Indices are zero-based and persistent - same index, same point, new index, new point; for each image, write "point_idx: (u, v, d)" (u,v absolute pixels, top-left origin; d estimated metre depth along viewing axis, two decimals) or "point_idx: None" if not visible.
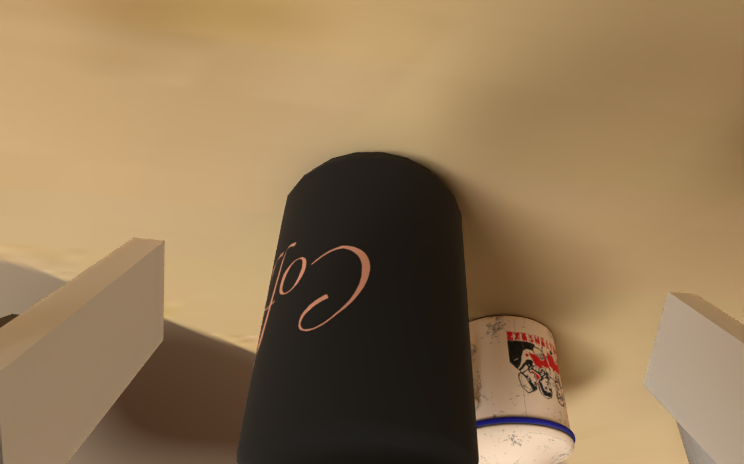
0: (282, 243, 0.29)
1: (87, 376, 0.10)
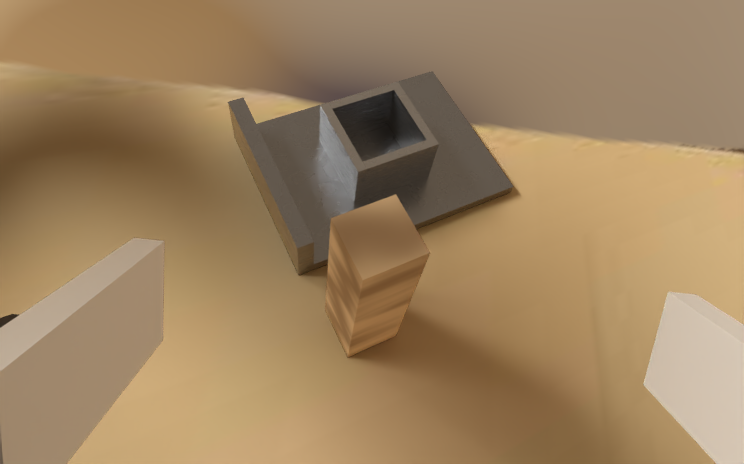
0: None
1: (88, 376, 0.10)
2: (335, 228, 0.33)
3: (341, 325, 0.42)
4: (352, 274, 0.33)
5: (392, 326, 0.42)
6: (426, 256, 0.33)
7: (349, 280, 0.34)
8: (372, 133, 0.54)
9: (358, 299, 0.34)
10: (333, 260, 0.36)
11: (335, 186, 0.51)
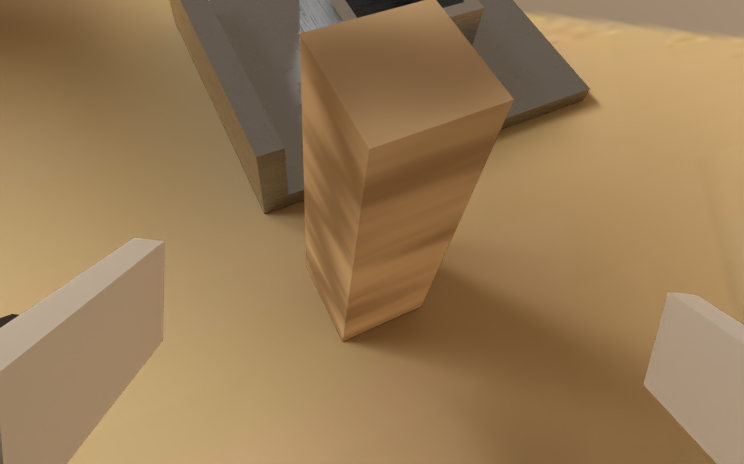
0: None
1: (88, 376, 0.10)
2: (309, 53, 0.15)
3: (331, 284, 0.24)
4: (346, 152, 0.15)
5: (417, 287, 0.25)
6: (504, 110, 0.15)
7: (341, 173, 0.17)
8: None
9: (359, 210, 0.16)
10: (311, 147, 0.19)
11: None
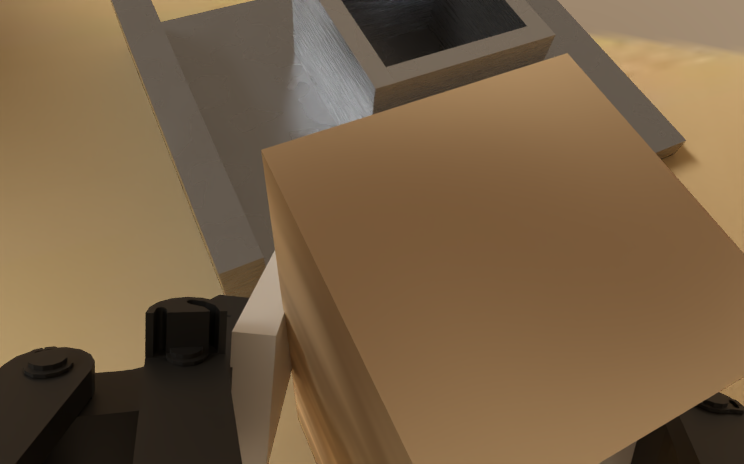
0: None
1: (288, 346, 0.12)
2: (284, 202, 0.06)
3: None
4: (375, 444, 0.06)
5: None
6: None
7: (358, 445, 0.07)
8: (399, 40, 0.28)
9: None
10: (297, 334, 0.10)
11: None
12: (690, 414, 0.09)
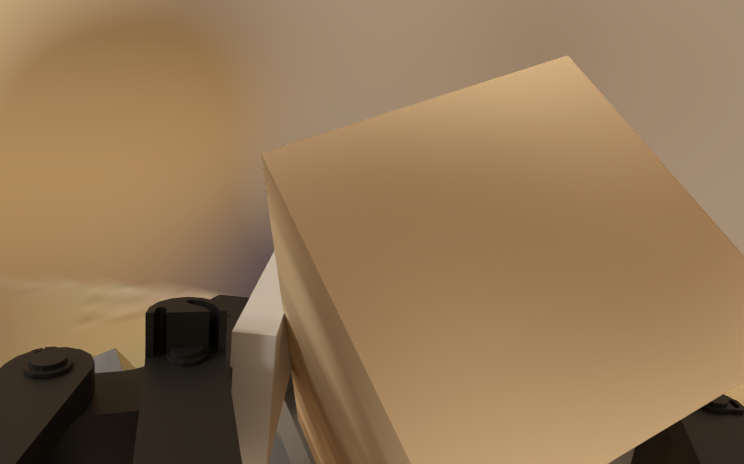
0: None
1: None
2: (284, 206, 0.06)
3: None
4: (375, 448, 0.06)
5: None
6: None
7: (358, 449, 0.07)
8: None
9: None
10: (297, 336, 0.10)
11: None
12: (690, 414, 0.09)
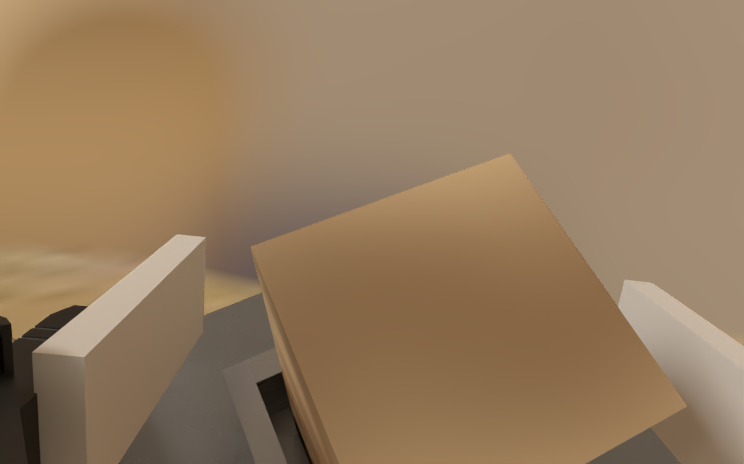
0: None
1: (147, 363, 0.11)
2: (268, 291, 0.08)
3: None
4: None
5: None
6: None
7: None
8: None
9: None
10: (286, 373, 0.11)
11: None
12: None
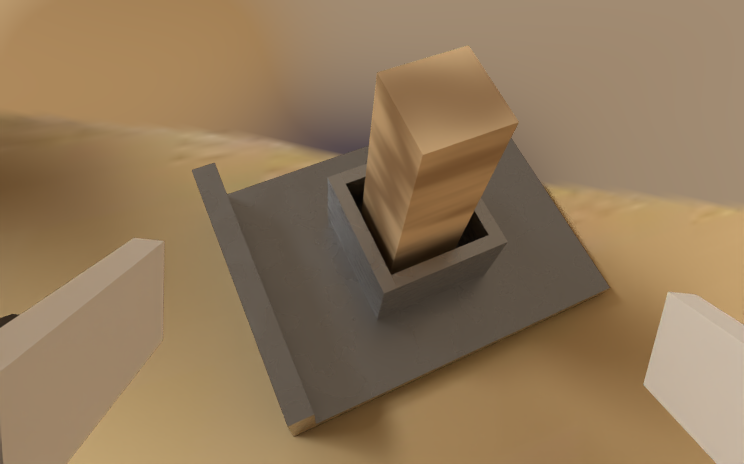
0: None
1: (88, 376, 0.10)
2: (383, 86, 0.23)
3: (381, 242, 0.32)
4: (405, 153, 0.23)
5: (446, 246, 0.33)
6: (512, 128, 0.23)
7: (399, 165, 0.25)
8: None
9: (412, 191, 0.24)
10: (376, 144, 0.27)
11: (350, 290, 0.35)
12: None
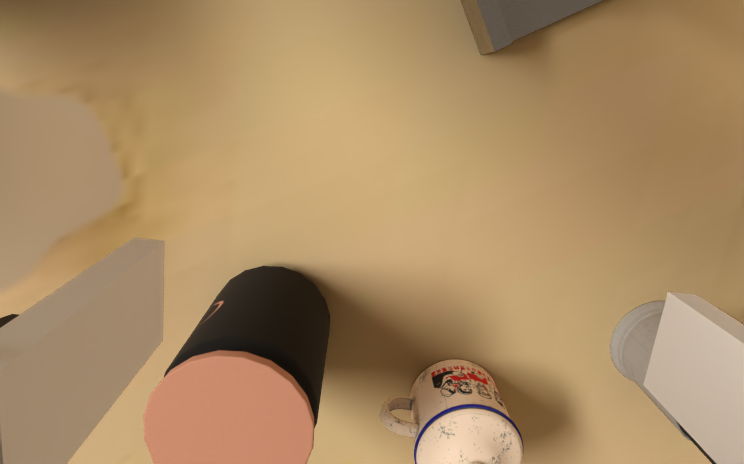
0: None
1: (88, 376, 0.10)
2: None
3: None
4: None
5: None
6: None
7: None
8: None
9: None
10: None
11: None
12: None
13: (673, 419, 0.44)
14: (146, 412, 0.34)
